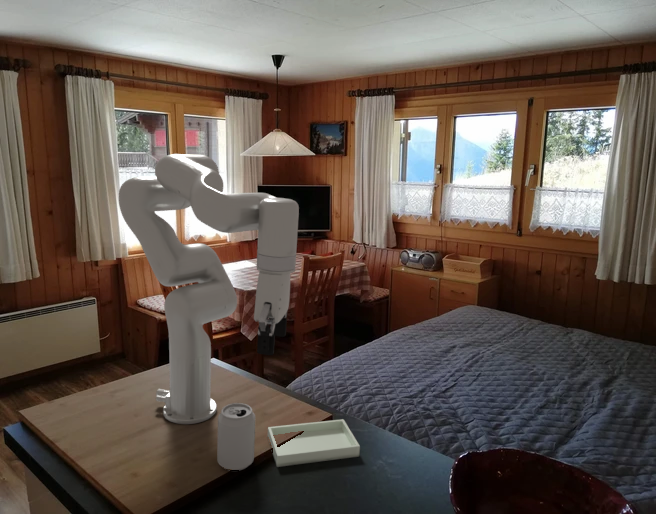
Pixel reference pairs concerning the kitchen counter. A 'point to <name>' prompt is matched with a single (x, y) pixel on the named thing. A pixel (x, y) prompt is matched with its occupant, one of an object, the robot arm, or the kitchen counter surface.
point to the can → (236, 436)
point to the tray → (314, 443)
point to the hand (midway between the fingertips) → (272, 344)
